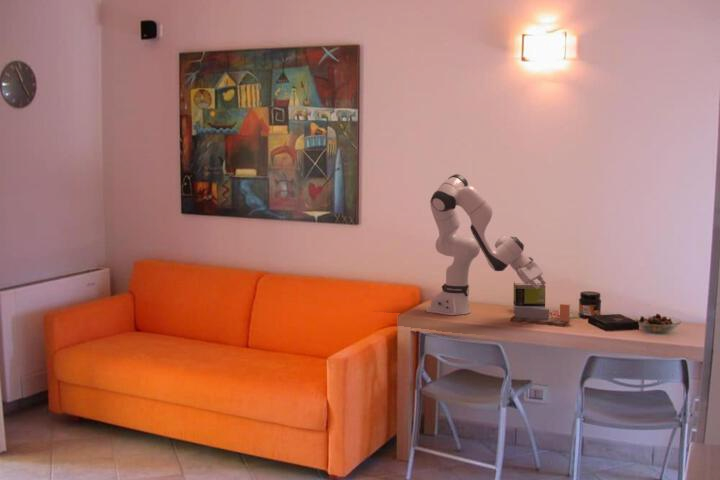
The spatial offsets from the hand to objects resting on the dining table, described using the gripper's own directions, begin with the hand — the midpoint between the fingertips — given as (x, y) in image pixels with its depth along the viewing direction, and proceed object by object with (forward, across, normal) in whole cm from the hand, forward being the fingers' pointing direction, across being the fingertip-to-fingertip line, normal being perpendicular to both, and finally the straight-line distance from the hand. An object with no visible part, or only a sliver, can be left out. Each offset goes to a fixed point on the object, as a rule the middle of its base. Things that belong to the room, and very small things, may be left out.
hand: (541, 286), depth 371 cm
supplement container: (+26, +22, +1) cm, 34 cm away
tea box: (+4, +19, +22) cm, 29 cm away
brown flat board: (+12, -1, +13) cm, 17 cm away
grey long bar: (+8, -1, +14) cm, 16 cm away
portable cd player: (+36, +8, -9) cm, 38 cm away
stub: (+19, 0, +3) cm, 19 cm away
